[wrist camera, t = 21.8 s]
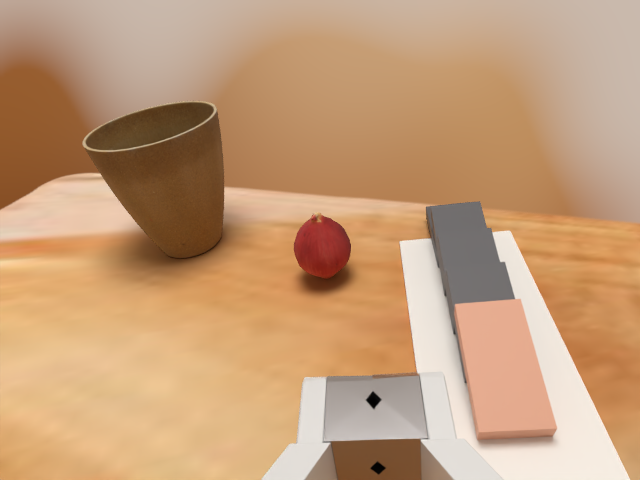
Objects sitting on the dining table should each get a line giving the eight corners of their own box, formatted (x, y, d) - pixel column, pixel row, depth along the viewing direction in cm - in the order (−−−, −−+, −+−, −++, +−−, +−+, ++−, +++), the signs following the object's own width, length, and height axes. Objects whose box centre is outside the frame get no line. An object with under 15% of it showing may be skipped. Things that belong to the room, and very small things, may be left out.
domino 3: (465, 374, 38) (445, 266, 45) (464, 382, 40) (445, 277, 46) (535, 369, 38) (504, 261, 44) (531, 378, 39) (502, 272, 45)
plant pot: (255, 206, 71) (226, 92, 62) (239, 269, 58) (200, 137, 50) (153, 219, 72) (111, 110, 64) (115, 284, 60) (57, 158, 51)
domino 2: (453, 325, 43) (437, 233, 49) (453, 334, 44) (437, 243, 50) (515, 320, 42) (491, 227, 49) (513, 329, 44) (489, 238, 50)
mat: (438, 534, 31) (438, 531, 31) (399, 243, 58) (399, 241, 58) (651, 529, 29) (652, 526, 29) (509, 232, 56) (509, 230, 56)
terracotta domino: (478, 432, 34) (455, 303, 40) (477, 439, 35) (454, 314, 42) (557, 428, 34) (520, 298, 40) (552, 436, 35) (517, 309, 41)
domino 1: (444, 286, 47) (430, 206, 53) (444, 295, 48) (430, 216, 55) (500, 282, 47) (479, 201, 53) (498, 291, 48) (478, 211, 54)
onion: (296, 268, 57) (282, 205, 52) (346, 255, 57) (336, 192, 53) (306, 299, 52) (292, 233, 48) (361, 285, 52) (351, 218, 48)
